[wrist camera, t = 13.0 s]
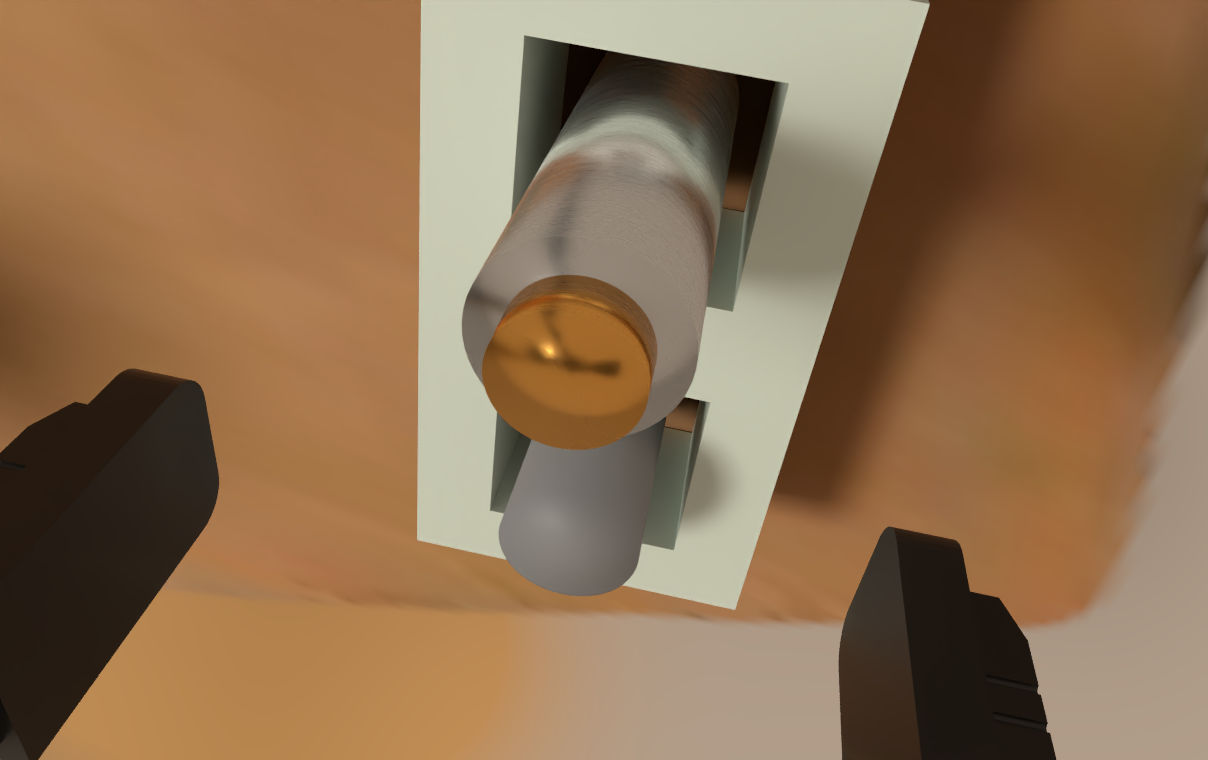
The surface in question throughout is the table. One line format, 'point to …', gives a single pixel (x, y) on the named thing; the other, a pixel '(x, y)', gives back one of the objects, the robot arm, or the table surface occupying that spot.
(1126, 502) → the table surface
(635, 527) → the rack
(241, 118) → the table surface
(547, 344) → the silver battery cell
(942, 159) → the table surface
